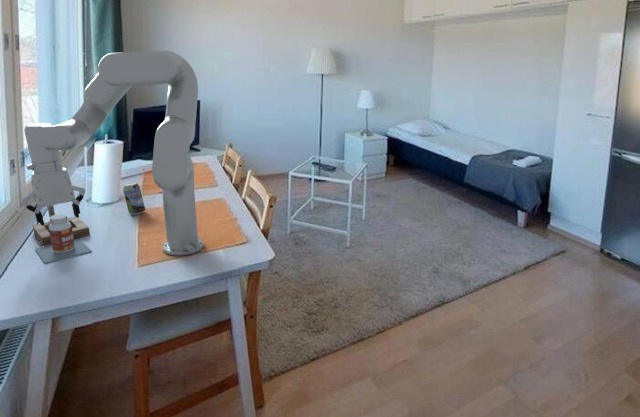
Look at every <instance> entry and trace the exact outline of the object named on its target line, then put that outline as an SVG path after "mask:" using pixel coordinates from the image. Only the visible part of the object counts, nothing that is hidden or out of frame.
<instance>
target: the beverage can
mask: <svg viewBox="0 0 640 417" xmlns="http://www.w3.org/2000/svg"><path fill="white" fill-rule="evenodd" d="M122 192H123V195H124V200H125V203H126V206H127V210H128V214H131V215H132V216H133V215H134V216H136V215H140V214H143V213H144V212H145V210H146V206H145V203H144V199H143V198H144V197H143V194H142V191H141V188H140V185H139V184H138V182H129V183H127V184H126V183H125V184H124V185H123V188H122Z"/></svg>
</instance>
